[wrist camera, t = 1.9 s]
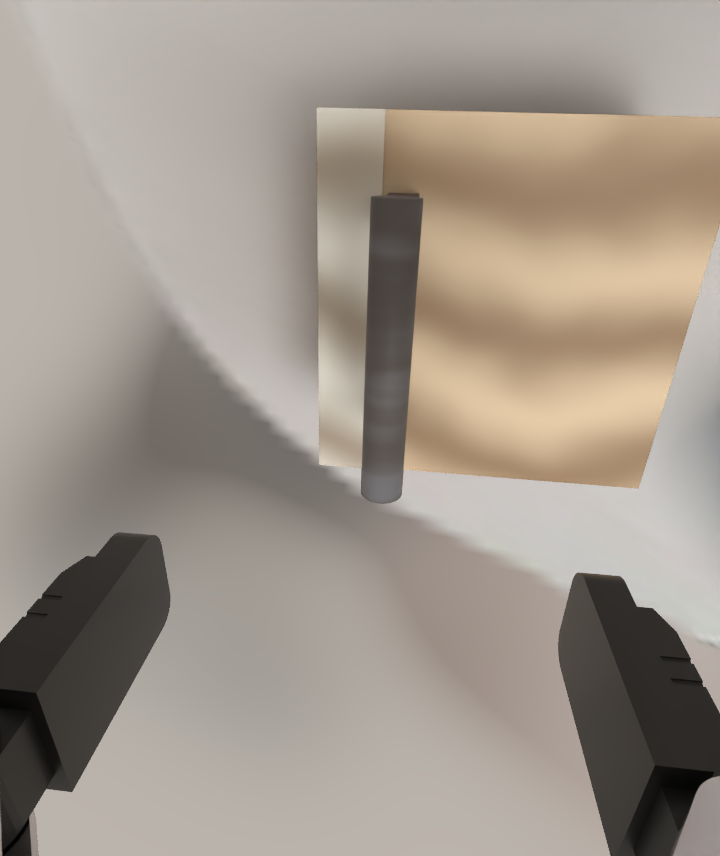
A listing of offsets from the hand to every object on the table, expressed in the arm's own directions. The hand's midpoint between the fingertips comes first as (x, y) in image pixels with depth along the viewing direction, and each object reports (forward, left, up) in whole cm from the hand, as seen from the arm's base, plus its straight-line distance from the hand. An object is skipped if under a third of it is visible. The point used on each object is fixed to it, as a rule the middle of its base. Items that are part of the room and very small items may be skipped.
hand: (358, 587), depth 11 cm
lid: (0, +5, -20) cm, 21 cm away
